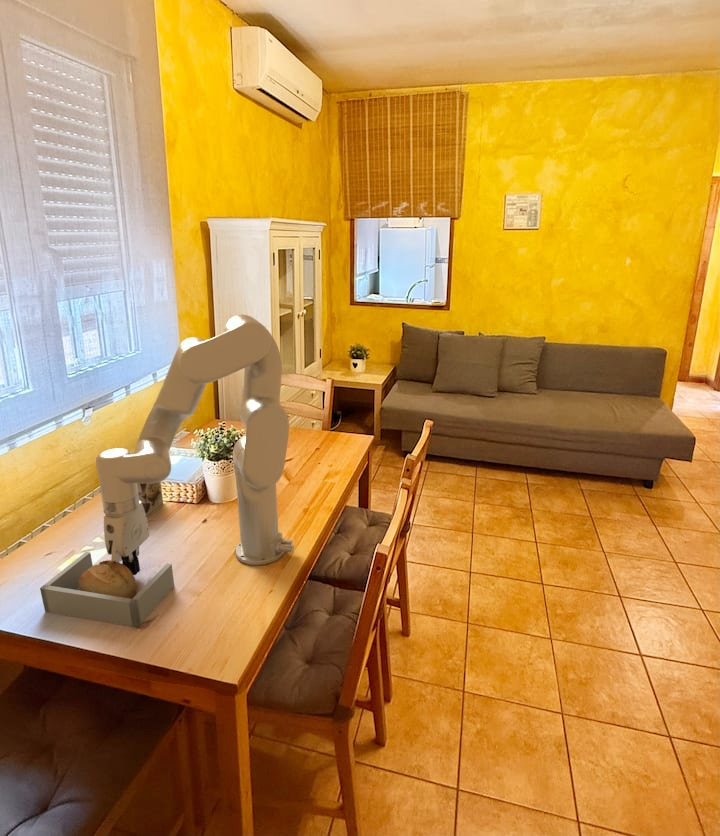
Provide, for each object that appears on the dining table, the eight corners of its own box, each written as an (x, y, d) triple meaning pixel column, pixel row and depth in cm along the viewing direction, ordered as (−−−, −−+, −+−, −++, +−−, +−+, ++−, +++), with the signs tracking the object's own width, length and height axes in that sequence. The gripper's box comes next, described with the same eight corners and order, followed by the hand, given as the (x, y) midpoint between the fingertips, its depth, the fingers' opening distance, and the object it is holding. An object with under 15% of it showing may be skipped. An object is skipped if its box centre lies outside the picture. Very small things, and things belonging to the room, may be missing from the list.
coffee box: (147, 517, 156) (140, 465, 150) (127, 514, 157) (119, 463, 152) (164, 502, 164) (158, 453, 159) (145, 500, 165) (138, 451, 160)
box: (174, 586, 125) (171, 564, 123) (137, 627, 112) (133, 603, 110) (89, 573, 130) (85, 551, 128) (45, 611, 117) (39, 588, 115)
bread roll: (105, 576, 129) (100, 547, 126) (151, 595, 122) (146, 565, 120) (68, 599, 121) (62, 569, 118) (115, 620, 114) (109, 589, 112)
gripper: (115, 521, 114) (126, 594, 120) (155, 490, 128) (164, 557, 134) (84, 517, 116) (97, 589, 121) (126, 486, 129) (136, 553, 135)
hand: (132, 572), depth 128 cm, fingers closed
